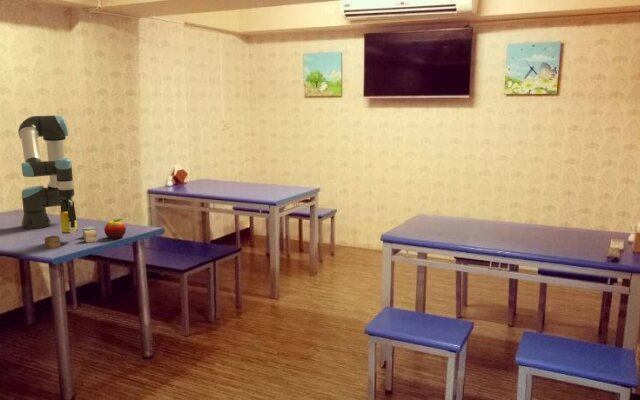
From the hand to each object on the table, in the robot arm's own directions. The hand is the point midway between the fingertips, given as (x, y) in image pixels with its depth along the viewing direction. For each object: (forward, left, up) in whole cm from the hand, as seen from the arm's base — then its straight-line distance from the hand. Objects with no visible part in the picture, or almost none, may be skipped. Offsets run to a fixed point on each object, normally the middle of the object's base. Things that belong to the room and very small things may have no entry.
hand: (69, 231), depth 272 cm
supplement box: (0, 0, -1) cm, 1 cm away
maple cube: (+7, +8, -5) cm, 12 cm away
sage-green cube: (-2, +11, -5) cm, 12 cm away
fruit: (+10, +20, -5) cm, 23 cm away
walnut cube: (+5, -10, -5) cm, 12 cm away
